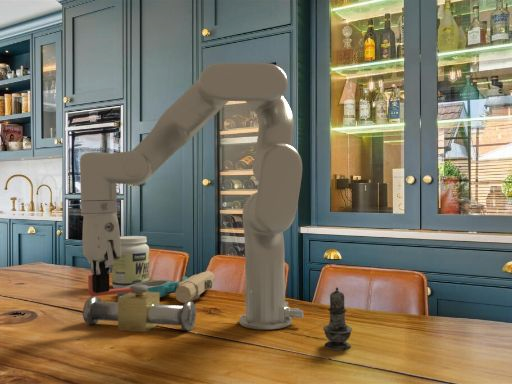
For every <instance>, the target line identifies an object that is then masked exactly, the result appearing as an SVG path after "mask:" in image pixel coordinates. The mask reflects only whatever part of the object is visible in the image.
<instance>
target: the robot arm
mask: <svg viewBox="0 0 512 384" xmlns="http://www.w3.org/2000/svg"><path fill="white" fill-rule="evenodd" d="M288 84H289V83H288V78H287V74H286V73H285V71H284V70H283V69H282V68H281V67H279V66H278V65H276V64H273V63H270V62H269V63H268V62H218V63H213V64H210V65H208V66H207V67H205V68H203V71H201V74H200V76H199V78H198V79H197V80H196V81H195V82H193V83H192V84H191V86H190V87H189V88H188V89H187V90H186V91H185V92H184V93H182V94H181V95H180V96H179V97H178V99H177V100H175V101H174V102H173V103H172V104H170V106H169V107H168V108H167V109H166V110H165V111H164V112H163V113H162V114H161V115H160V117H159V118H158V120H157V122H156V123H155V125H154V127H153V128H152V129H151V130H150V131H149V133H148V134H147V135H146V136H145V137H144V138H143V139H142V140H141V142H140V143H138V144H137V146H135V147H134V148H133V149H132V150H129V151H128V150H127V151H122V152H112V153H110V152H101V151H99V152H86V153H84V154H82V155H81V156H80V158H79V173H80V174H79V176H80V178H79V179H80V181H79V184H80V213H81V214H80V216H81V217H82V218H83V220H82V236H81V237H82V246H81V247H82V254H83V256H84V258H85V259H87V262H88V264H89V265H90V270H91V275H92V286H93V292H95V293H101V292H106V291H109V289H111V288H110V273H111V268H112V267H113V266H114V260H113V259H120V257H121V242H120V237H121V232H120V224H119V219H118V202H117V201H118V198H117V191H118V190H117V184H120V185H121V184H122V185H129V186H139V185H140V186H141V185H142V184H144V183H145V182H147V181H148V180H149V179H150V178H151V177H152V176H153V175H154V174H155V172H156V171H158V170H159V168H161V167H162V166H163V165H164V164H165V163H166V162H167V161H168V160H169V159H170V158H171V157H172V156H173V155H174V154H176V153H177V151H178V150H180V149H181V148H182V147H184V146H185V145H186V144H187V143H188V142H189V141H190V140H191V139H193V138H194V136H196V134H198V132H200V130H201V129H202V128H203V127H204V126H206V125H207V123H208V122H210V120H211V119H213V117H214V116H216V115H217V113H218V112H220V110H222V109H223V108H224V106H225V105H226V104H228V103H229V102H245V103H246V104H247V105H248V106H249V107H250V108H251V109H252V110H253V111H254V113H255V114H256V117H257V119H258V130H257V132H258V133H257V138H256V139H257V140H256V144H255V145H256V147H255V152H254V157H253V161H252V174H253V176H254V178H255V179H256V180H257V182H258V186H257V192H255V193H253V194H251V195H249V197H248V198H247V199H246V200H245V202H244V205H243V208H242V225H243V235H244V276H245V277H244V282H245V287H244V289H245V290H244V291H245V299H244V300H245V313H244V314H242V315H240V316H239V319H238V320H239V321H238V323H239V324H240V325H241V326H243V327H244V328H246V329H251V330H262V331H264V330H265V331H268V330H277V329H283V328H287V327H288V326H290V325H291V324H292V322H293V321H292V319H293V318H295V319H303V318H304V310H303V309H300V308H299V307H293V308H292V307H290V306H289V302H288V301H286V283H285V279H286V276H285V275H286V272H285V271H286V270H285V268H286V267H285V265H286V264H285V263H286V261H285V258H286V257H285V253H286V252H285V251H286V249H285V239H284V238H285V237H284V232H285V231H287V230H288V229H289V228H290V227H291V226H292V224H293V222H294V220H295V219H296V214H297V210H298V204H299V198H300V197H299V196H300V190H301V185H302V184H301V183H302V177H303V163H302V162H303V160H302V157H301V155H300V154H299V152H298V150H297V149H296V148H294V146H292V145H293V139H294V138H293V137H294V127H295V121H294V115H293V111H292V109H291V107H290V105H289V103H288V101H287V100H286V99H285V97H284V95H285V93H286V92H287V89H288Z"/></svg>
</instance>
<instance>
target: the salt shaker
mask: <svg viewBox="0 0 512 384" xmlns="http://www.w3.org/2000/svg"><path fill="white" fill-rule="evenodd" d="M328 311H329V322H328V324H326V325H324V326H322V331H324V334H325V337H326V339H328V341H327V342H325V343H324V347H325V348H326V349H328V350H332V351H348V350H349V349H351V348H352V345H351V344H350V343H349V342H347V341H348V340H349V339H350V337H351V334H352V333H351V332H352V331H353V328H352V327H351V326H349V325H347V322H346V312H347V309H346V308H345V295H344V293H343V292H341V291H340V290H339V288H338V287H337V286H336V287H335V291H333V292H331V293H330V294H329V308H328Z"/></svg>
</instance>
